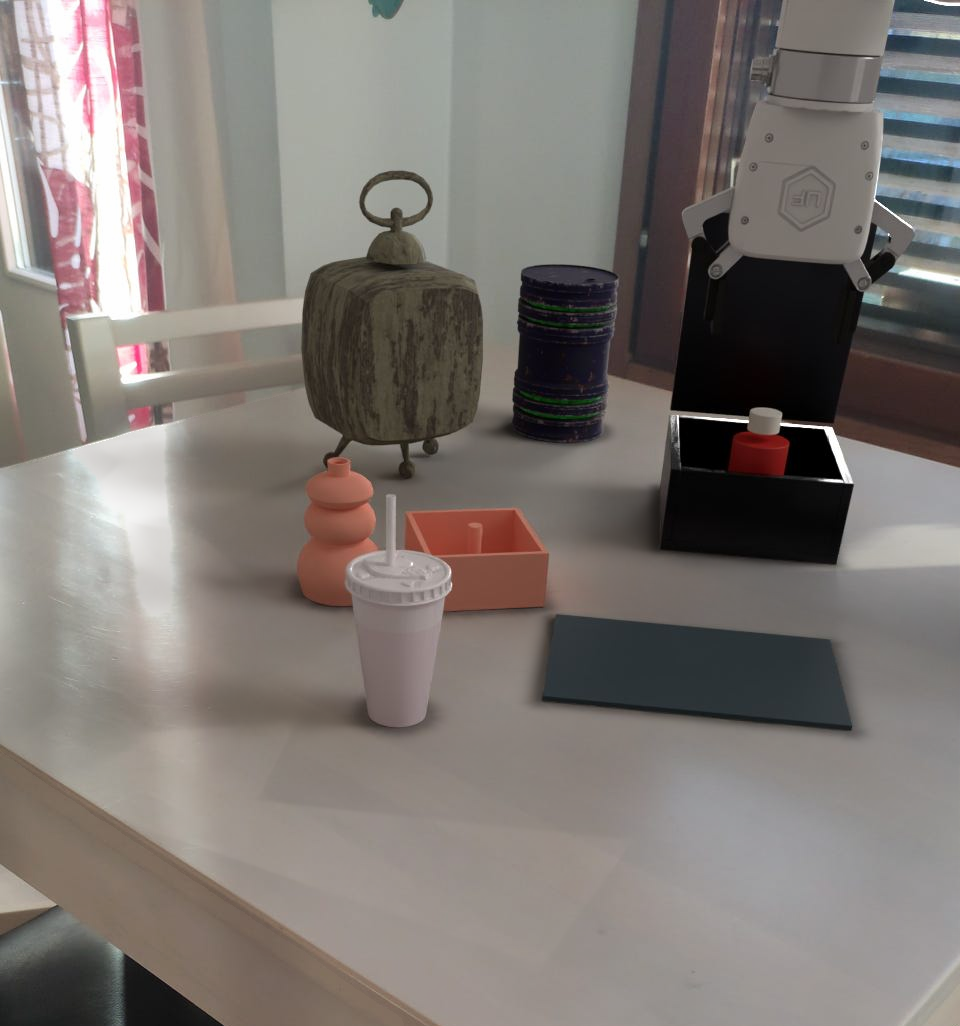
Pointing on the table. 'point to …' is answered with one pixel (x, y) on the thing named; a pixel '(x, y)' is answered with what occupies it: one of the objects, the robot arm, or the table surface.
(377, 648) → the smoothie
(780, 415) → the ketchup
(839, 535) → the box
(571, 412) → the dark purple barrel
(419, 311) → the tabletop clock
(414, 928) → the table surface
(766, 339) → the lid
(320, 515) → the pottery
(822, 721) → the mat
